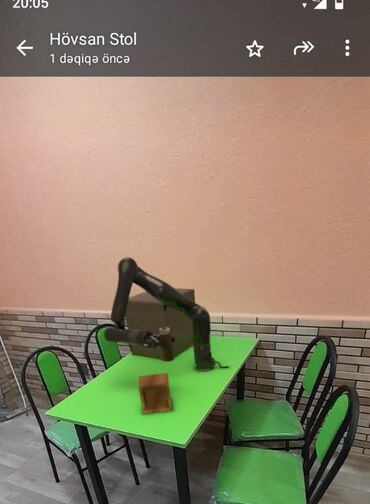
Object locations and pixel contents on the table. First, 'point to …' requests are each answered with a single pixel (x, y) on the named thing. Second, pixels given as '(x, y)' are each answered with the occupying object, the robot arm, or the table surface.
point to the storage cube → (159, 322)
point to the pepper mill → (166, 337)
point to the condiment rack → (155, 393)
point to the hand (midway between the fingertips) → (170, 342)
